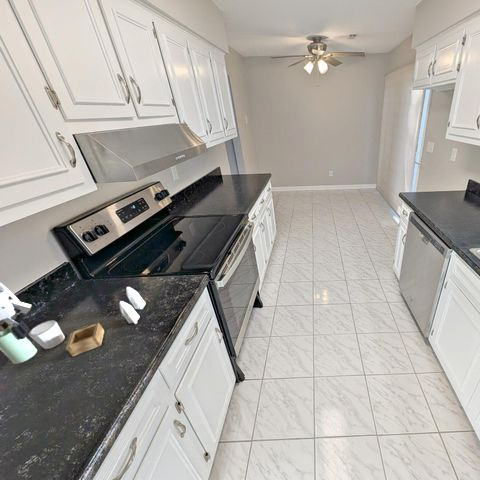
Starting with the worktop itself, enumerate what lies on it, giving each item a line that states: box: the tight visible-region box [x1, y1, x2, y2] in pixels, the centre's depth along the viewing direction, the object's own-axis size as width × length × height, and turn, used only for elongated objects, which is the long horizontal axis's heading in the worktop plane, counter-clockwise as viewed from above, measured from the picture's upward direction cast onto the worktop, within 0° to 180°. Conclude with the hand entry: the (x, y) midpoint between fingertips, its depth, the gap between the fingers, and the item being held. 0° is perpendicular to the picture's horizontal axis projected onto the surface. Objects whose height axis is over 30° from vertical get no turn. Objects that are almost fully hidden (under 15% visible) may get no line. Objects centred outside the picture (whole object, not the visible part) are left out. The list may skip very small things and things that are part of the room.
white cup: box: [27, 320, 66, 350], centre depth 86 cm, size 7×7×7 cm
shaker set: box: [118, 286, 146, 325], centre depth 95 cm, size 12×4×11 cm, turn 12°
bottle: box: [0, 320, 38, 365], centre depth 64 cm, size 5×5×12 cm
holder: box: [65, 322, 105, 357], centre depth 85 cm, size 8×8×4 cm
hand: (10, 339), depth 64 cm, fingers closed on bottle, 4 cm apart
